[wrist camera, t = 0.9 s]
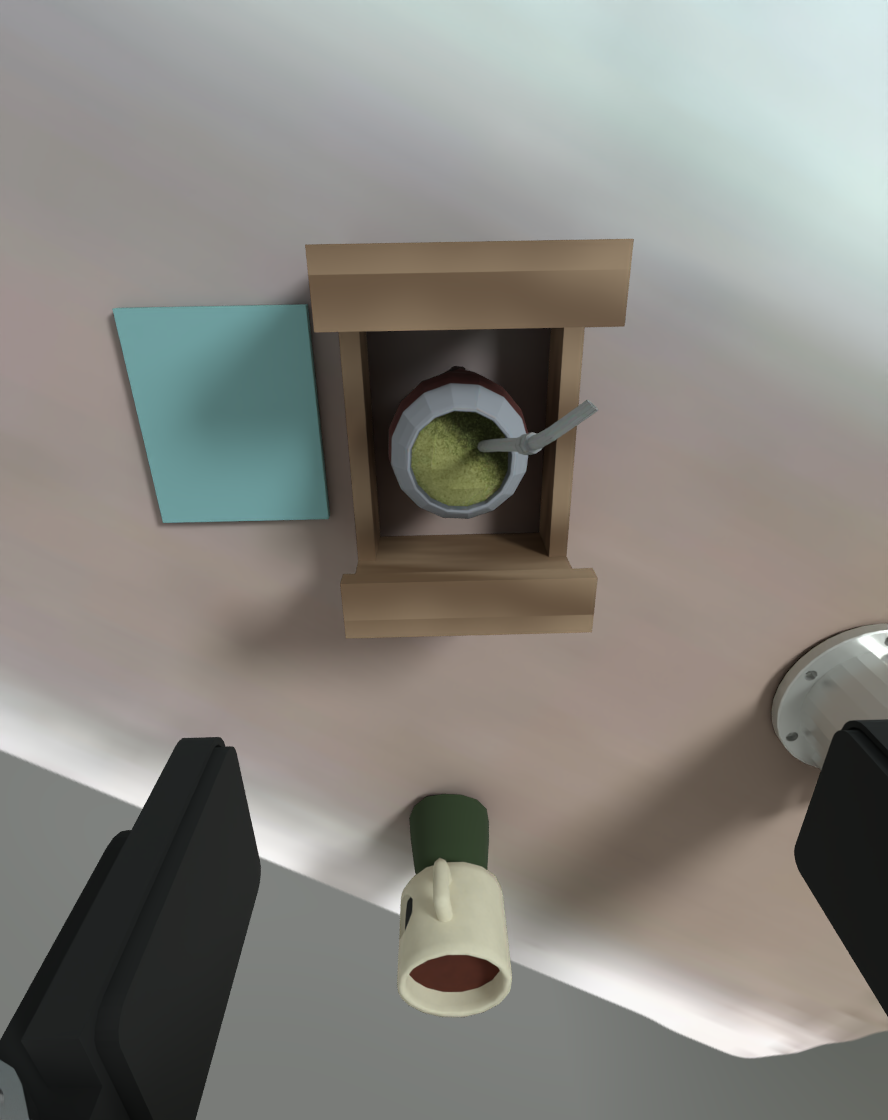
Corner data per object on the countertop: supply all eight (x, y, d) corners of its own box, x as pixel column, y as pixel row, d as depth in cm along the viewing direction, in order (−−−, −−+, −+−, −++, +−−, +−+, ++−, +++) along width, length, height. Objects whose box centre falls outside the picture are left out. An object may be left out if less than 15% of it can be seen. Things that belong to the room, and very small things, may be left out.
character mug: (392, 769, 47) (379, 938, 35) (483, 757, 46) (501, 923, 35) (417, 864, 51) (413, 1041, 40) (500, 853, 51) (521, 1028, 39)
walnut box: (554, 546, 39) (591, 632, 30) (365, 551, 38) (345, 638, 29) (574, 246, 31) (633, 238, 22) (341, 250, 31) (305, 244, 22)
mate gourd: (392, 477, 36) (370, 601, 23) (395, 338, 33) (371, 388, 20) (516, 483, 37) (566, 609, 23) (531, 346, 33) (600, 401, 20)
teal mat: (330, 515, 37) (328, 518, 37) (166, 518, 37) (163, 522, 37) (307, 304, 32) (305, 305, 32) (117, 307, 32) (112, 308, 31)
